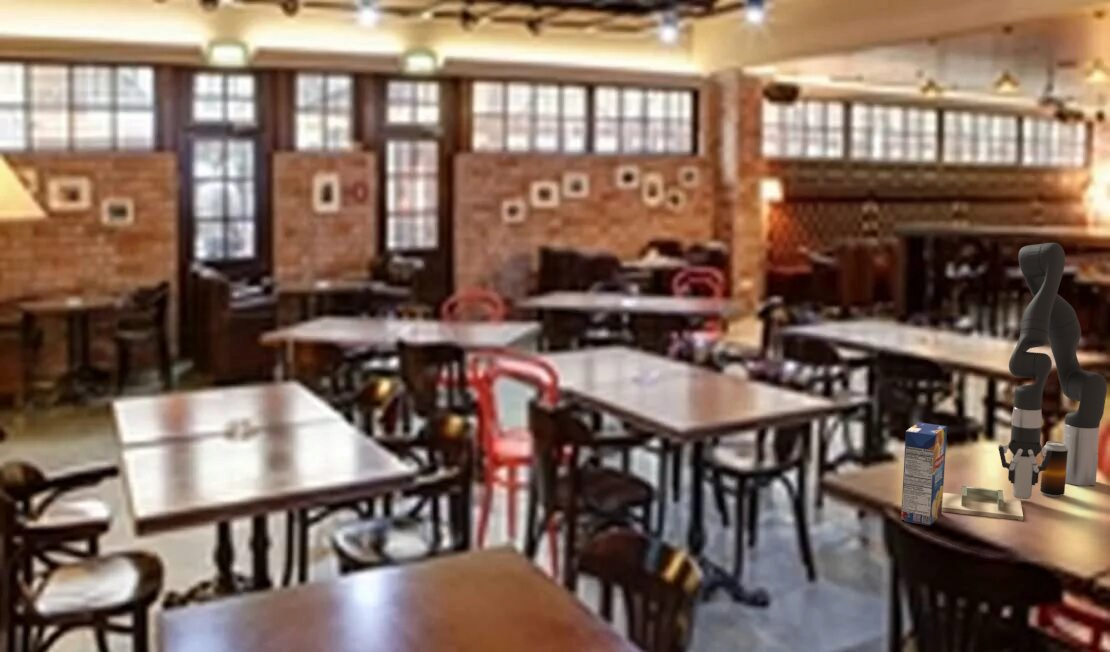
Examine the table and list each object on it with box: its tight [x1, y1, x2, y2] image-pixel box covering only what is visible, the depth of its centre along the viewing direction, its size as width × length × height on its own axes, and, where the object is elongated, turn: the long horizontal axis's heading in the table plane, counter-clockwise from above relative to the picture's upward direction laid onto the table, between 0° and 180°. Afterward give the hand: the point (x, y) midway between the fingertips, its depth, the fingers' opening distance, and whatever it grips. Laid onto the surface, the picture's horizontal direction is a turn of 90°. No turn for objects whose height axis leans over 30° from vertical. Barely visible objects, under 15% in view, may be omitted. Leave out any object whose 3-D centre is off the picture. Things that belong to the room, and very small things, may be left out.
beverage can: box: [1040, 440, 1068, 498], centre depth 300 cm, size 6×6×15 cm
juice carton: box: [900, 422, 948, 526], centre depth 279 cm, size 12×8×24 cm, turn 146°
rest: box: [942, 485, 1024, 521], centre depth 288 cm, size 20×14×4 cm
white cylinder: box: [1012, 456, 1034, 500], centre depth 294 cm, size 5×5×12 cm
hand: (1022, 483), depth 294 cm, fingers closed on white cylinder, 5 cm apart
